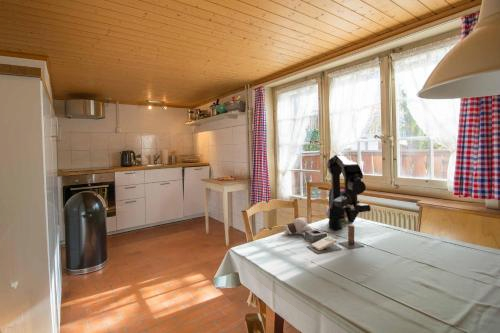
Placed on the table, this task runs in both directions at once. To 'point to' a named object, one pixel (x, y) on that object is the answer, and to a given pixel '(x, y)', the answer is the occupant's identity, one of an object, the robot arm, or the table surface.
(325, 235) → the grey square block
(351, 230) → the stylus
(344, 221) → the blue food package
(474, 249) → the table surface
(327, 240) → the rocker
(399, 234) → the table surface
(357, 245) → the pad
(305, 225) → the toy
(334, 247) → the rocker housing
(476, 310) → the table surface
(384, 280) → the table surface
